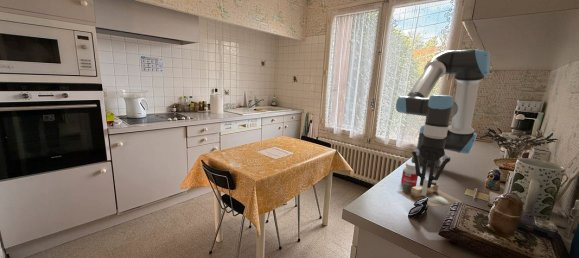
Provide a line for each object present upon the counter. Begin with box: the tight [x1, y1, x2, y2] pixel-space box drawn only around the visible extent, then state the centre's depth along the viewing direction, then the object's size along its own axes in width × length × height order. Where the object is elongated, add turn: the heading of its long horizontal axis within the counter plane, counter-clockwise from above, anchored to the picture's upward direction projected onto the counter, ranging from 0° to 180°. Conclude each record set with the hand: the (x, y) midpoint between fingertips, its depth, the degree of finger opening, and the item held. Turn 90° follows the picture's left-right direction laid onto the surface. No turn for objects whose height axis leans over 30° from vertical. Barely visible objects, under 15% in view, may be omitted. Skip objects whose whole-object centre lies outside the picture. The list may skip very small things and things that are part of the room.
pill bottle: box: [400, 161, 419, 187], centre depth 105 cm, size 6×6×11 cm
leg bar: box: [411, 181, 440, 197], centre depth 97 cm, size 14×4×4 cm, turn 117°
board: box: [396, 182, 463, 209], centre depth 95 cm, size 20×14×5 cm
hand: (423, 194), depth 93 cm, fingers closed
